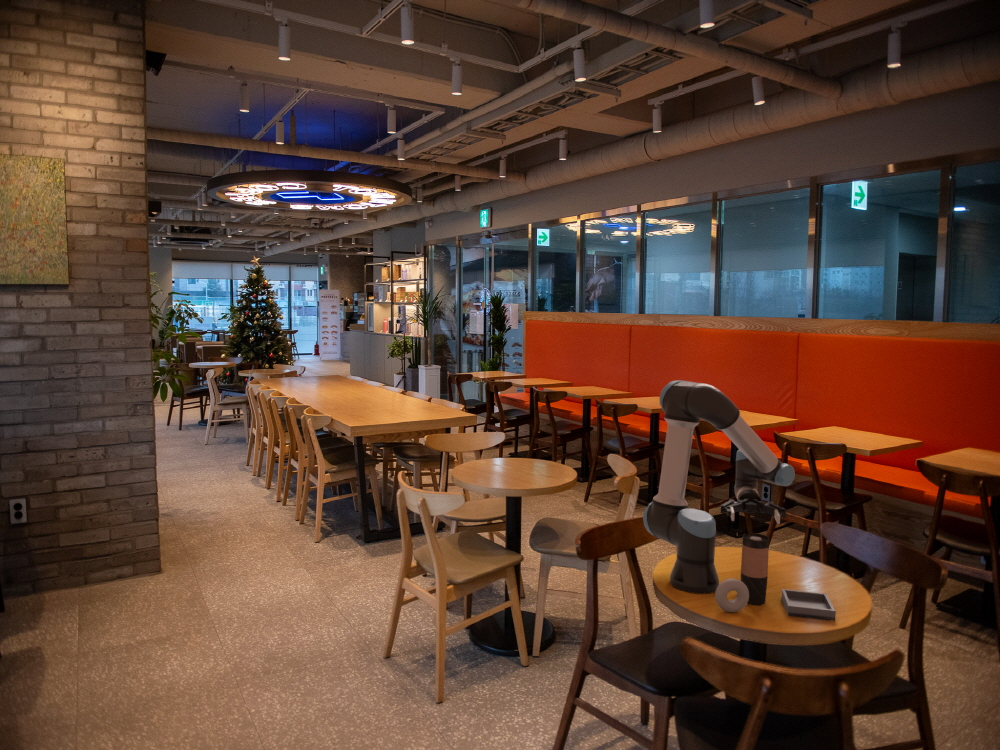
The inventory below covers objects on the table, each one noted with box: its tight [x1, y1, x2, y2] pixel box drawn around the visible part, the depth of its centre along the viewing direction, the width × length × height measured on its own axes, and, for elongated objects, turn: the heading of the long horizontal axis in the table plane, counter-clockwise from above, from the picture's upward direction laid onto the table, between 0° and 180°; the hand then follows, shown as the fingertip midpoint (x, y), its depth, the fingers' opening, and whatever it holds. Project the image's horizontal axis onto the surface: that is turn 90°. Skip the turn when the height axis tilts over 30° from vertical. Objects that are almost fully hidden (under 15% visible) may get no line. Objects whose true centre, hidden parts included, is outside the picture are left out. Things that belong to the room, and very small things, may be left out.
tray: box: [780, 588, 837, 622], centre depth 203 cm, size 13×13×3 cm
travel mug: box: [740, 532, 770, 607], centre depth 208 cm, size 8×8×20 cm
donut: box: [714, 578, 749, 613], centre depth 201 cm, size 10×4×10 cm, turn 93°
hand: (755, 518), depth 217 cm, fingers open, 13 cm apart
